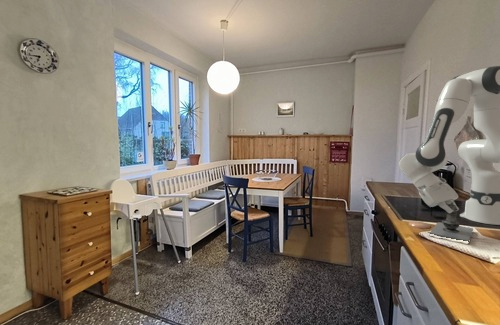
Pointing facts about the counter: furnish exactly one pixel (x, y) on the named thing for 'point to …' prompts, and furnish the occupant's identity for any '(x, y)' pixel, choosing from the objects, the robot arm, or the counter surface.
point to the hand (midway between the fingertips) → (454, 211)
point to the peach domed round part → (419, 225)
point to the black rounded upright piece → (451, 221)
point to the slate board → (461, 235)
